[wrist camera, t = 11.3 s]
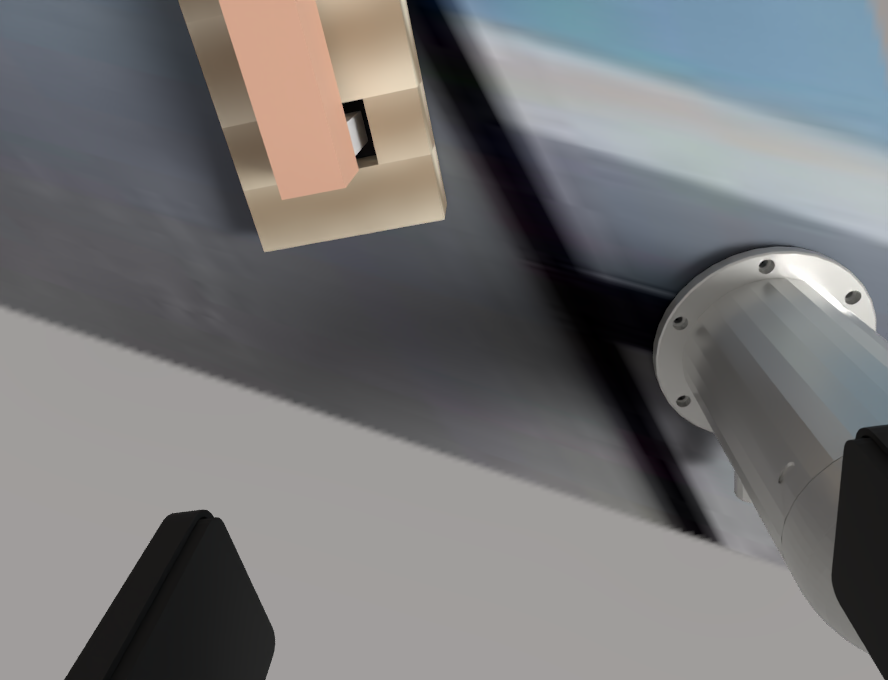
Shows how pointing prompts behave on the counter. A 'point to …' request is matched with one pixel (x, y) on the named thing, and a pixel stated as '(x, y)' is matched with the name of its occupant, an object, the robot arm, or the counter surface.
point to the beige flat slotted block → (358, 77)
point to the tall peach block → (295, 94)
